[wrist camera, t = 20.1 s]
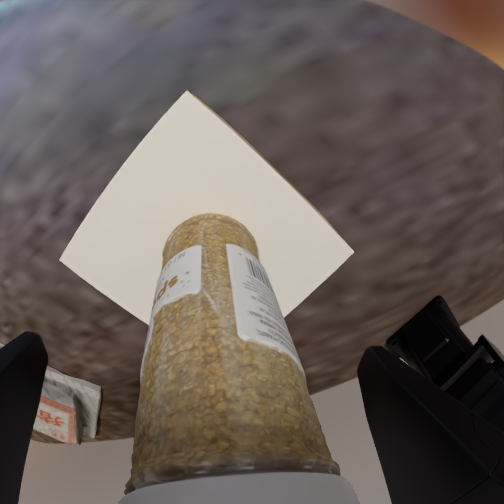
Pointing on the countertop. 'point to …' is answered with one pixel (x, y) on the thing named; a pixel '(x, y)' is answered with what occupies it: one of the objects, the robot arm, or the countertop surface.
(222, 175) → the lid
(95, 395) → the packaged product
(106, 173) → the countertop surface
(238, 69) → the countertop surface
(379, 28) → the countertop surface
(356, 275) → the countertop surface
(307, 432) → the sprinkles bottle
